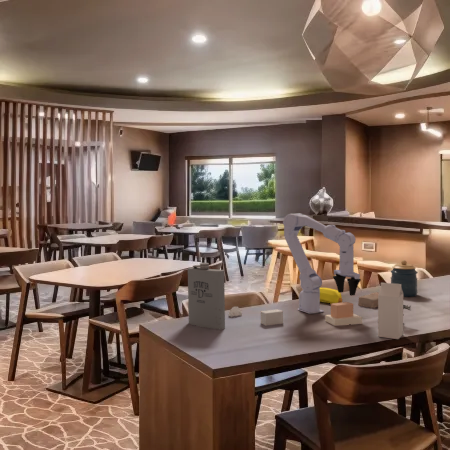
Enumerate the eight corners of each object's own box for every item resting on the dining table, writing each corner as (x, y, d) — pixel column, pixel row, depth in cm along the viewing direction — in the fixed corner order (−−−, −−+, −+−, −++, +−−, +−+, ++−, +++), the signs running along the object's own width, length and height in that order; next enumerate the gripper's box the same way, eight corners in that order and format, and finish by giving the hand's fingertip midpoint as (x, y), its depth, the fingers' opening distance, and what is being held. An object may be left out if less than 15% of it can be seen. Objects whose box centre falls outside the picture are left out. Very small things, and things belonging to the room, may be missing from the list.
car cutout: (238, 314, 218) (238, 304, 218) (246, 317, 213) (245, 307, 212) (207, 318, 212) (207, 308, 212) (214, 321, 206) (213, 311, 206)
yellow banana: (337, 306, 231) (346, 303, 237) (337, 291, 231) (346, 289, 237) (305, 300, 244) (314, 298, 250) (305, 287, 244) (314, 285, 249)
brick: (373, 308, 225) (373, 298, 225) (357, 306, 231) (357, 296, 231) (392, 303, 236) (392, 293, 236) (376, 301, 243) (376, 291, 242)
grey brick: (260, 323, 200) (260, 311, 200) (277, 321, 204) (277, 309, 203) (265, 325, 197) (265, 313, 196) (283, 323, 200) (283, 311, 200)
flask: (185, 323, 201) (184, 261, 200) (193, 321, 205) (192, 260, 204) (219, 330, 191) (218, 264, 189) (226, 327, 194) (225, 263, 193)
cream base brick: (325, 322, 203) (325, 315, 203) (352, 320, 206) (352, 313, 206) (334, 327, 195) (334, 319, 195) (362, 324, 198) (362, 317, 198)
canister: (395, 291, 264) (395, 258, 263) (420, 294, 257) (420, 259, 256) (387, 295, 254) (387, 260, 253) (413, 298, 246) (413, 262, 245)
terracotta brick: (330, 316, 201) (330, 303, 200) (346, 314, 204) (346, 301, 204) (337, 318, 197) (337, 305, 197) (353, 316, 200) (353, 303, 200)
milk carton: (398, 339, 175) (398, 285, 174) (378, 337, 178) (378, 284, 178) (403, 334, 181) (403, 282, 180) (383, 332, 184) (383, 281, 184)
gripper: (328, 260, 215) (328, 291, 215) (350, 264, 202) (350, 297, 202) (341, 259, 218) (341, 290, 218) (363, 263, 205) (363, 295, 205)
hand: (346, 293), depth 211 cm, fingers open, 7 cm apart
